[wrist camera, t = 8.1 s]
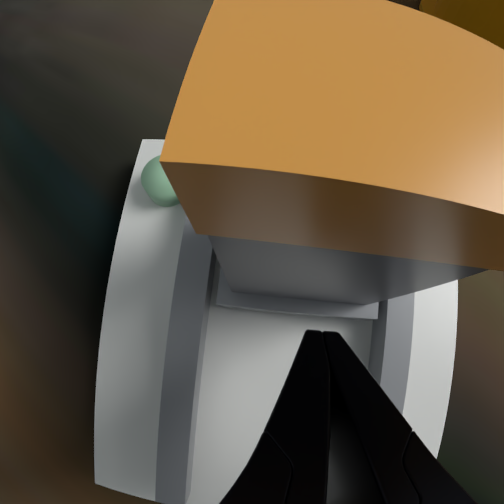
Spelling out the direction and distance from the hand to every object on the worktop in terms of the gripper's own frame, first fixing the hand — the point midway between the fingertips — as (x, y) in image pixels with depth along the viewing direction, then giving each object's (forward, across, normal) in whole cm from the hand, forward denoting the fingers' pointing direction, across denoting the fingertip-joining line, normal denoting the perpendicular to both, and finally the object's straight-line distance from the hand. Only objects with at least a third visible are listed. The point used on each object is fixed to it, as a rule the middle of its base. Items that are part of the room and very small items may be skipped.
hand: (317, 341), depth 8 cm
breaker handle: (+5, 0, +1) cm, 5 cm away
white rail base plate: (+5, 0, +5) cm, 7 cm away
